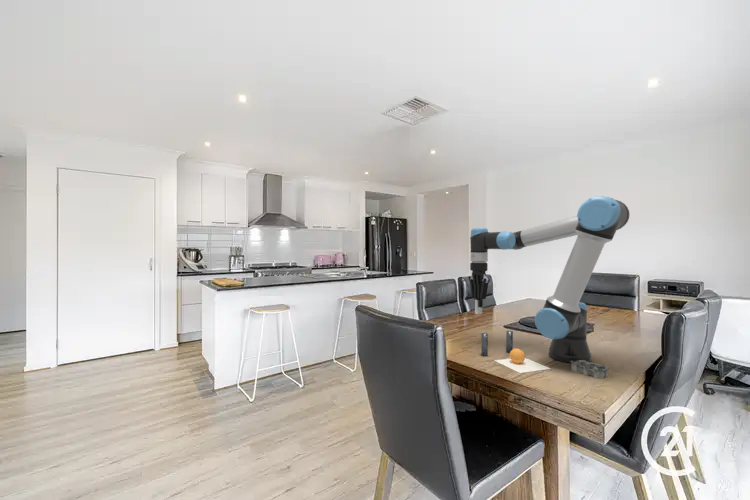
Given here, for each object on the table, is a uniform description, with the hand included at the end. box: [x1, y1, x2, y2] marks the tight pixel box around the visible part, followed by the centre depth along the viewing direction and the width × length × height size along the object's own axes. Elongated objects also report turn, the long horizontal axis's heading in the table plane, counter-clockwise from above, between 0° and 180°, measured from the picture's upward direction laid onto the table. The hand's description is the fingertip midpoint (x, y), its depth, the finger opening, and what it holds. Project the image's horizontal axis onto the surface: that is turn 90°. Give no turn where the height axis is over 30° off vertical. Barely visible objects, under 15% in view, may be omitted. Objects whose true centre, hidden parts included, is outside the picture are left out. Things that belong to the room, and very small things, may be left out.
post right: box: [505, 330, 514, 354], centre depth 144 cm, size 3×3×9 cm
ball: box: [509, 348, 526, 364], centre depth 130 cm, size 6×6×6 cm
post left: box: [480, 332, 489, 357], centre depth 140 cm, size 3×3×9 cm
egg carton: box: [570, 360, 610, 379], centre depth 121 cm, size 11×8×4 cm
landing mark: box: [493, 357, 552, 374], centre depth 129 cm, size 14×14×1 cm
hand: (478, 313), depth 154 cm, fingers closed
